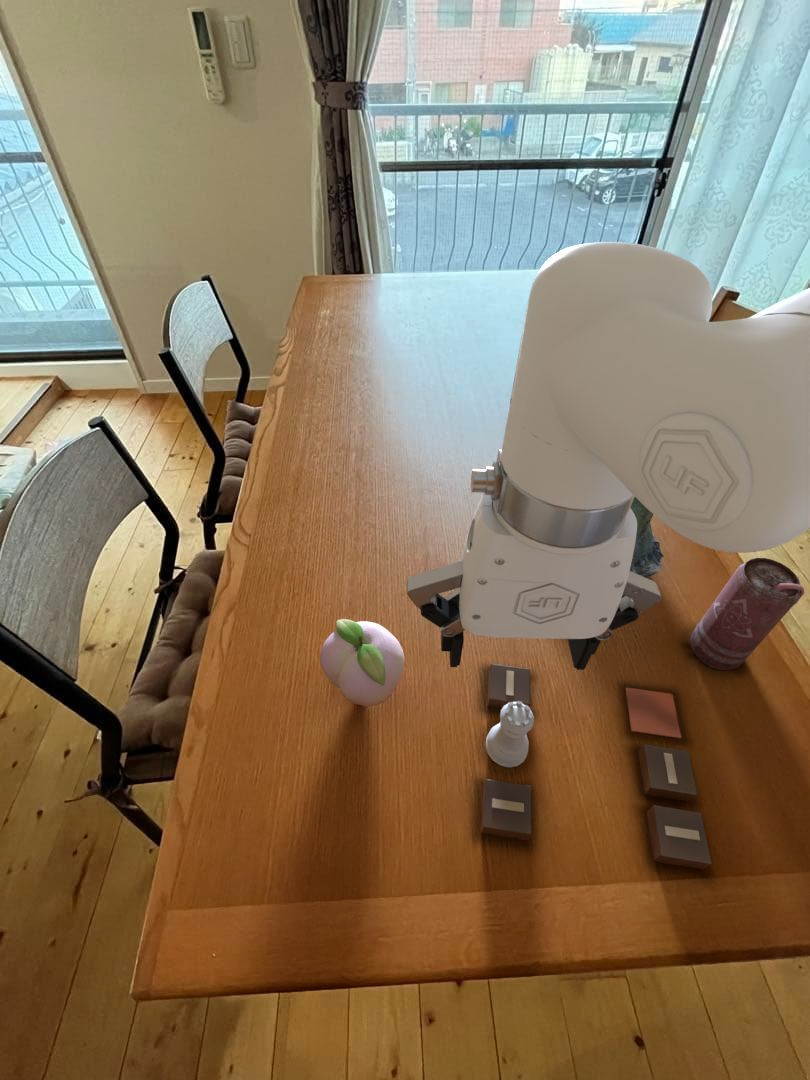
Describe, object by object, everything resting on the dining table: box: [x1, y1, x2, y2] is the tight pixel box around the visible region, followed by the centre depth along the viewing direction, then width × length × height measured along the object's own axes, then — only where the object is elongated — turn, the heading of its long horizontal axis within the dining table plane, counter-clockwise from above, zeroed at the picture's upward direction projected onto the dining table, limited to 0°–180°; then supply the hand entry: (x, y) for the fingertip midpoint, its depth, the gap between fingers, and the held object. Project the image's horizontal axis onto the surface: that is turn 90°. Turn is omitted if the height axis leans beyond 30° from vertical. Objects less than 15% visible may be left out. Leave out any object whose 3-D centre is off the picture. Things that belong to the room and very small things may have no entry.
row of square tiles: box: [624, 687, 712, 870], centre depth 56 cm, size 18×5×2 cm, turn 172°
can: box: [689, 557, 805, 671], centre depth 62 cm, size 6×6×14 cm
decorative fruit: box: [319, 618, 405, 707], centre depth 60 cm, size 9×8×10 cm
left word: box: [480, 663, 532, 841], centre depth 58 cm, size 17×4×2 cm, turn 172°
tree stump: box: [630, 497, 664, 579], centre depth 74 cm, size 18×20×18 cm
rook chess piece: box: [485, 701, 535, 768], centre depth 55 cm, size 4×4×8 cm
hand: (514, 652), depth 44 cm, fingers open, 9 cm apart
